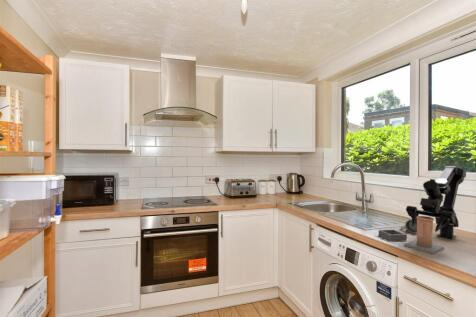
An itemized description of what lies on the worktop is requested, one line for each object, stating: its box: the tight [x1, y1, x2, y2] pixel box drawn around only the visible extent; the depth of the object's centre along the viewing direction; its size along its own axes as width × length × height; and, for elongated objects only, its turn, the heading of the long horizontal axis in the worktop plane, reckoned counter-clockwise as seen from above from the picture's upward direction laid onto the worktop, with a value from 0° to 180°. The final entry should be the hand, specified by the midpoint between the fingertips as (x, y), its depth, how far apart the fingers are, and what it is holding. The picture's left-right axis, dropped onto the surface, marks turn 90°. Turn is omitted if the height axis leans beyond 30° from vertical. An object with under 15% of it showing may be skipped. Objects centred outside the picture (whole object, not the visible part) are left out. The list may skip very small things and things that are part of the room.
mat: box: [403, 239, 445, 255], centre depth 123 cm, size 12×12×1 cm
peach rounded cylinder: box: [416, 215, 435, 247], centre depth 123 cm, size 8×7×13 cm
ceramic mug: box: [399, 218, 417, 234], centre depth 150 cm, size 11×8×8 cm
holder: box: [378, 229, 408, 242], centre depth 136 cm, size 9×9×3 cm
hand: (424, 228), depth 123 cm, fingers open, 9 cm apart
